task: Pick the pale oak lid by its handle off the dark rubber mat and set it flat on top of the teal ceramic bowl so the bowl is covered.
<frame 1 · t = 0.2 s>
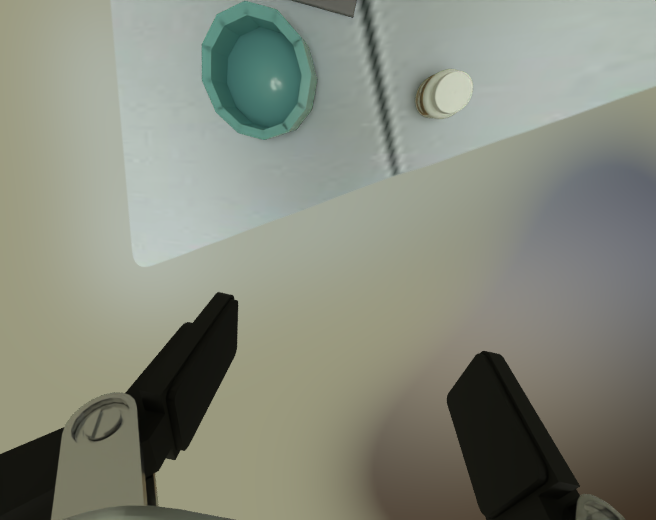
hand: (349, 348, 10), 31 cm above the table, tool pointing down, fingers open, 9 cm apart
pill bottle: (433, 97, 32), on the table
bowl: (269, 82, 32), on the table
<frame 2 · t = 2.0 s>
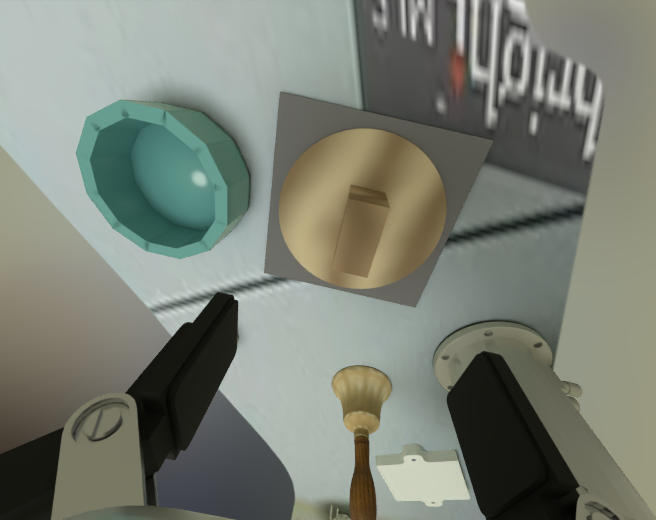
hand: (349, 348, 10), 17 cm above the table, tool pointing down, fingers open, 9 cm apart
mat: (359, 216, 25), on the table
hand bell: (361, 384, 37), on the table
bowl: (190, 177, 25), on the table
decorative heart: (342, 513, 58), on the table
lid: (359, 217, 24), resting on mat
mounting plate: (421, 468, 46), on the table
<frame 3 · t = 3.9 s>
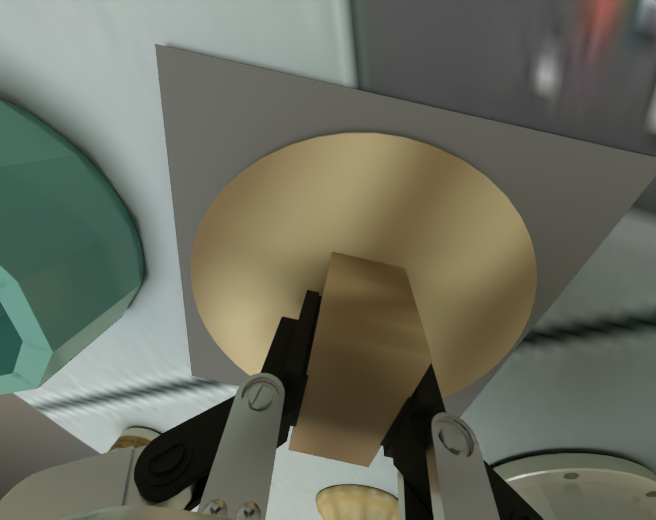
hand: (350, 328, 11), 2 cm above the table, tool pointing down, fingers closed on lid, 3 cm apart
mat: (351, 297, 13), on the table
pill bottle: (150, 437, 23), on the table
hand bell: (358, 501, 25), on the table
bowl: (28, 225, 13), on the table
lid: (351, 303, 13), point 1 cm above the table, touching gripper, mat
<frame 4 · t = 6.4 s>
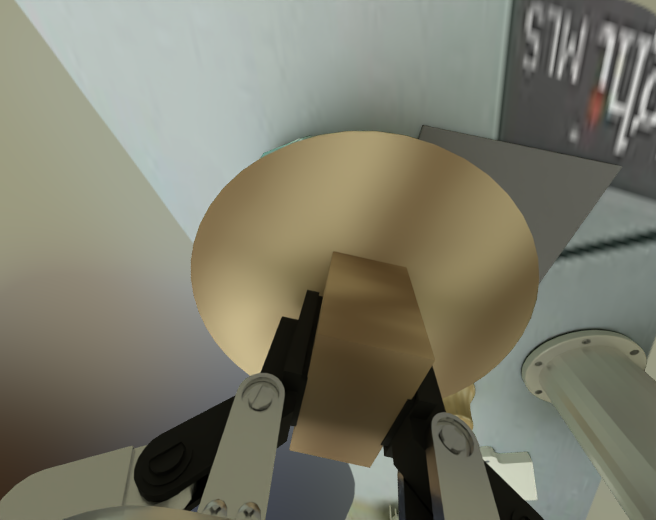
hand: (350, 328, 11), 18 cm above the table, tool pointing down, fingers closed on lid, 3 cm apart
mat: (474, 233, 27), on the table
hand bell: (443, 388, 38), on the table
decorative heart: (399, 513, 60), on the table
lid: (352, 303, 13), point 16 cm above the table, touching gripper
mounting plate: (488, 469, 48), on the table
when the fingers open (8 cm above the table, at t = 9.1 s): lid drops 1 cm, resting on bowl.
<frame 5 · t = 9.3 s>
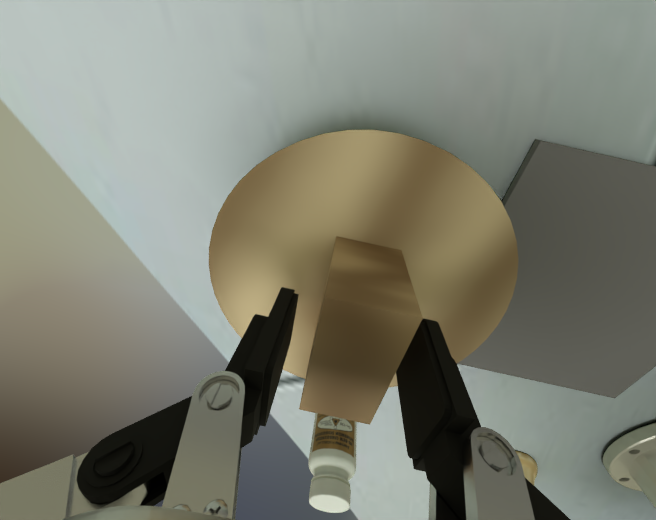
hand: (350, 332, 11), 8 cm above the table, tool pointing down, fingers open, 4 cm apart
mat: (581, 295, 18), on the table
pill bottle: (336, 410, 28), on the table
hand bell: (495, 464, 31), on the table
lid: (353, 286, 14), point 5 cm above the table, touching bowl
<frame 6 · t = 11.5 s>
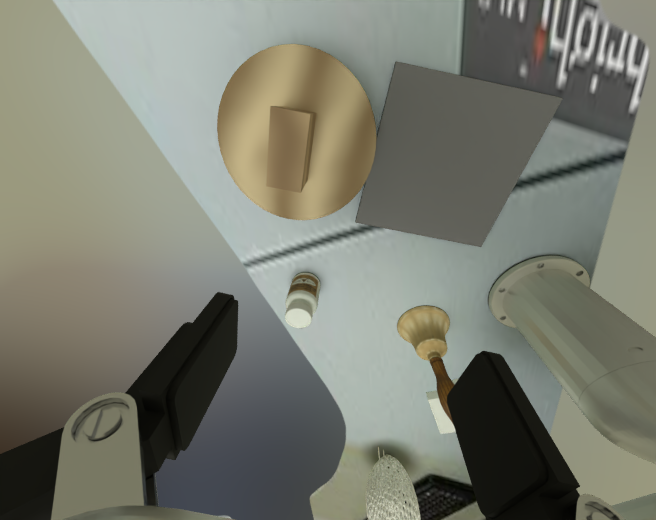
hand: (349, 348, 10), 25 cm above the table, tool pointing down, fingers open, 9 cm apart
mat: (443, 167, 30), on the table
pill bottle: (306, 282, 40), on the table
hand bell: (422, 323, 43), on the table
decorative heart: (386, 454, 66), on the table
lid: (297, 144, 25), point 5 cm above the table, touching bowl
mounting plate: (463, 402, 53), on the table
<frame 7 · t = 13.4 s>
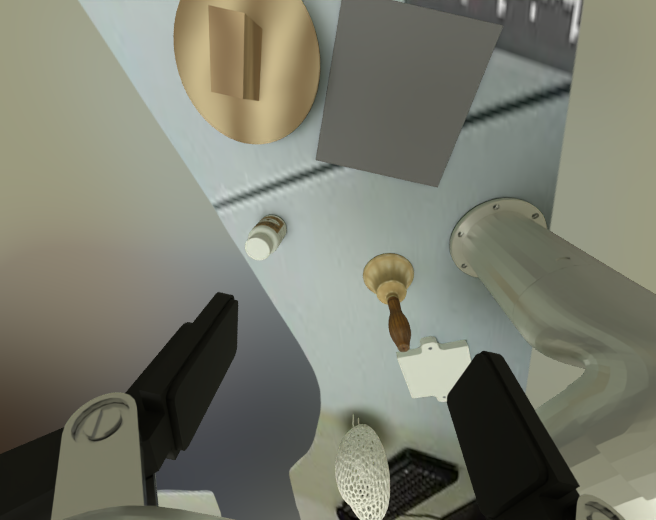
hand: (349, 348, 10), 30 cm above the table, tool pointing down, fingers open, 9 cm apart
mat: (396, 102, 31), on the table
pill bottle: (273, 226, 42), on the table
hand bell: (387, 274, 44), on the table
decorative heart: (362, 423, 66), on the table
lid: (249, 65, 27), point 5 cm above the table, touching bowl
mounting plate: (435, 365, 54), on the table
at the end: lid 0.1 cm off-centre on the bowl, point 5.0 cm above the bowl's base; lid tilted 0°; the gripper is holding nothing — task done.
